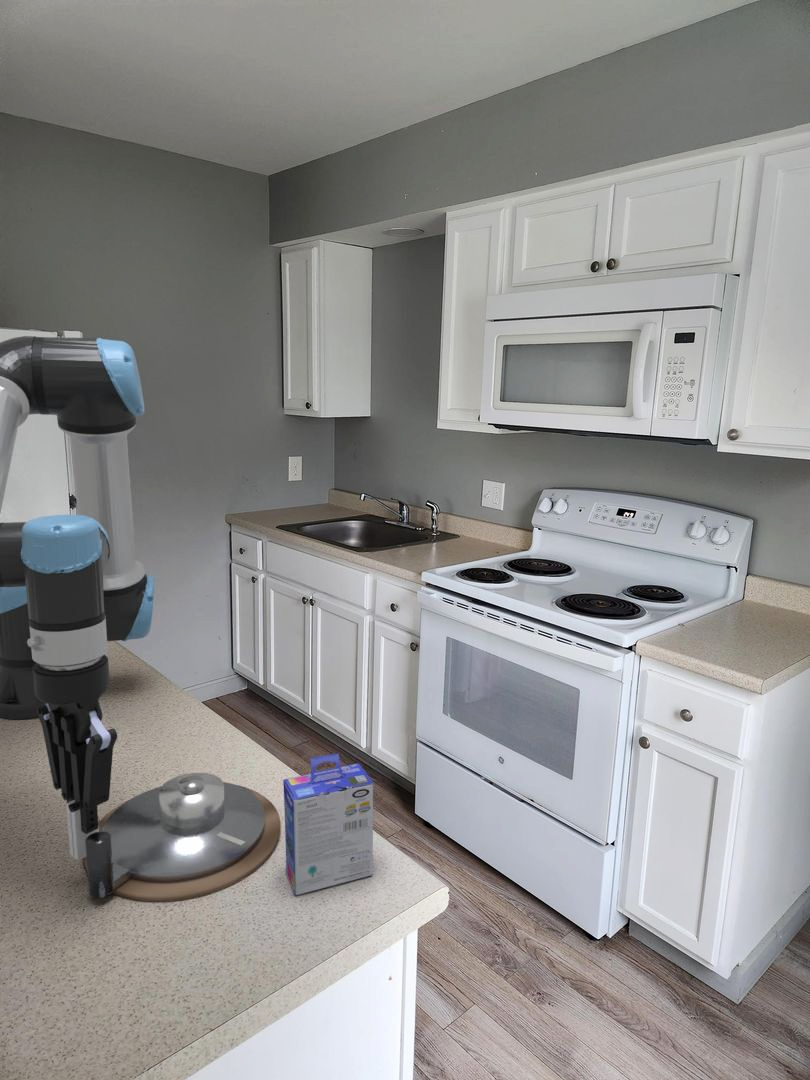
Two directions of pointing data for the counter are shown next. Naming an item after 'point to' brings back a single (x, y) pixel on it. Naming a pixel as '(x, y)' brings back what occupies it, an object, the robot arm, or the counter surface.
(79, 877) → the counter surface
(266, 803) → the base
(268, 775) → the counter surface
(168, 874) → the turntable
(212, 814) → the cover
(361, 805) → the ink cartridge box
